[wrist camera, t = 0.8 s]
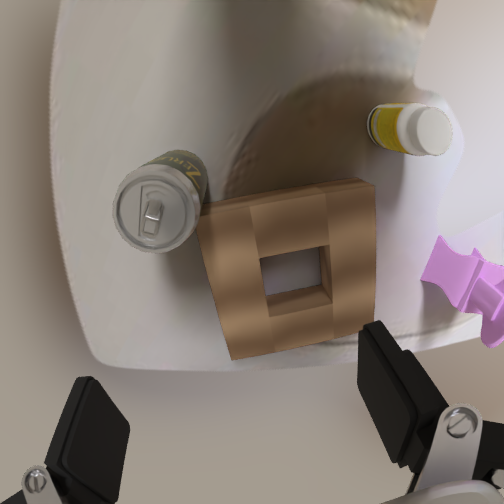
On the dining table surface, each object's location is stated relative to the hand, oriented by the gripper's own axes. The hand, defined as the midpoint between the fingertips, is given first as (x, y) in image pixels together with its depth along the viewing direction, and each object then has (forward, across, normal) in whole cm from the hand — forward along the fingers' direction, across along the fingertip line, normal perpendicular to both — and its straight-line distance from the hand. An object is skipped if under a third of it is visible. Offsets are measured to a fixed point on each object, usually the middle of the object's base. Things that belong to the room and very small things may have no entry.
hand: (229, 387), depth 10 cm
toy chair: (+22, -27, +13) cm, 37 cm away
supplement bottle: (+22, -18, -6) cm, 29 cm away
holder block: (+22, -6, +7) cm, 23 cm away
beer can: (+22, +3, -4) cm, 22 cm away
